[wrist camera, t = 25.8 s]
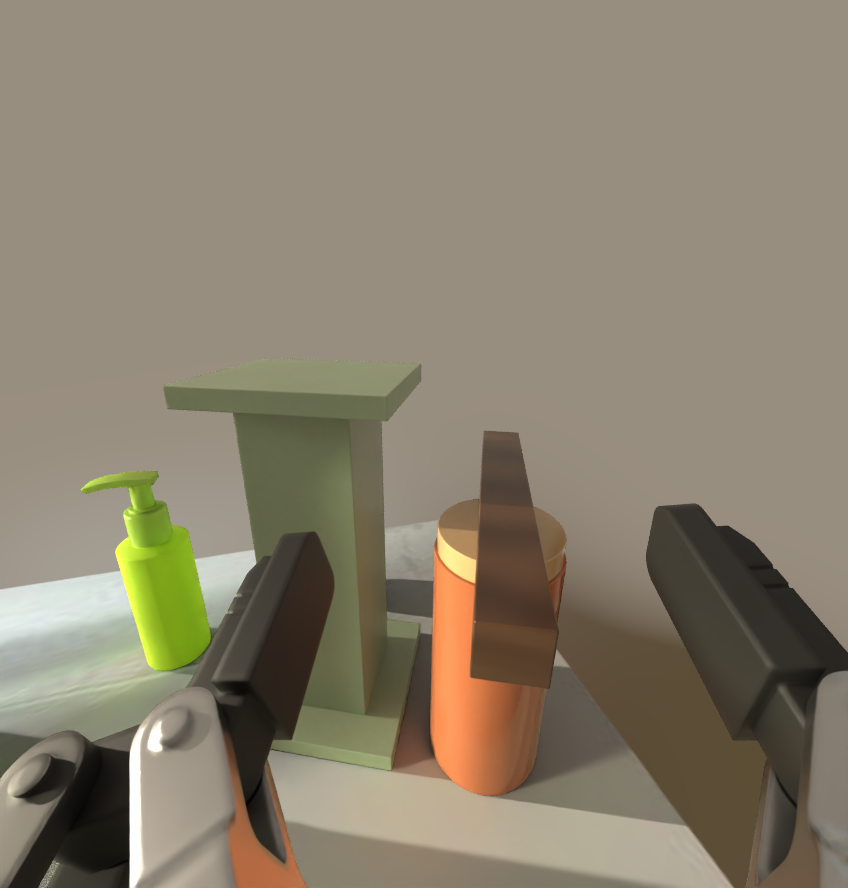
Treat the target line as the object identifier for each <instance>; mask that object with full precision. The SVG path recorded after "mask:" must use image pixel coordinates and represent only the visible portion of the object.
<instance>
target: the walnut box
mask: <svg viewBox="0 0 848 888" xmlns="http://www.w3.org/2000/svg"><path fill="white" fill-rule="evenodd" d="M558 633H559V631H558V626H557V621H556V616H555V611H554V606H553V601H552V596H551V591H550V587H549V582H548V577H547V572H546V567H545V562H544V557H543V552H542V547H541V542H540V537H539V533H538V528H537V523H536V518H535V513H534V508H533V503H532V498H531V493H530V488H529V483H528V479H527V474H526V469H525V464H524V459H523V454H522V449H521V445H520V439H519V435H518V433H513V432H496V431H484V433H483V449H482V464H481V482H480V500H479V517H478V535H477V553H476V571H475V588H474V606H473V624H472V642H471V659H470V677H471V678H474V679H481V680H488V681H495V682H502V683H509V684H516V685H522V686H529V687H536V688H543V689H549V688H550V683H551V677H552V671H553V665H554V658H555V652H556V646H557V640H558Z"/></svg>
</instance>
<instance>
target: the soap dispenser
mask: <svg viewBox="0 0 848 888" xmlns="http://www.w3.org/2000/svg"><path fill="white" fill-rule="evenodd" d="M158 477H159V476H158V472H157V471H142V472H125V473H118V474H112V475H108V476H104V477H101V478H97V479H94V480H92V481H89V482H88V483H87V484H86V485H85V486H84V487H83V488H82V489H81V491H82V492H84V493H86V494H87V493H91V492H95V491H98V490H103V489H108V488H118V487H128V490H129V494H130V498H131V502H132V506H130V507H129V508H128V509H126V510H125V511H124V513H123V517H124V521H125V524H126V527H127V531H128V535H129V537H128V538H127V539H125V540H124V541H123V542H122V543H120V544H119V545H118V547H117V549H116V556H117V560H118V563H119V567H120V570H121V574H122V577H123V580H124V584H125V587H126V590H127V594H128V597H129V601H130V604H131V607H132V611H133V614H134V617H135V621H136V624H137V628H138V631H139V634H140V638H141V641H142V645H143V648H144V651H145V655H146V658H147V661H148V664H149V665H150V666H151V667H152V668H154V669H156V670H162V671H166V670H173V669H177V668H180V667H183V666H185V665H187V664H189V663H191V662H192V661H194V660H195V659H197V658H198V657H199V656H200V655H201V654H202V653H203V652H204V651H205V650H206V649H207V647H208V646H209V644H210V641H211V633H210V628H209V623H208V619H207V614H206V610H205V605H204V601H203V596H202V591H201V587H200V582H199V578H198V573H197V568H196V564H195V559H194V555H193V550H192V545H191V541H190V536H189V532H188V530H187V529H186V528H183V527H181V526H175V525H171V521H170V517H169V512H168V508H167V505H166V503H165V502H163V501H159V500H154V496H153V492H152V488H151V485H153V484H154V483H155V481H156V480H157V478H158Z"/></svg>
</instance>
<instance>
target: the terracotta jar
mask: <svg viewBox="0 0 848 888" xmlns="http://www.w3.org/2000/svg"><path fill="white" fill-rule="evenodd" d="M479 500H480V499H473V500H467V501H464V502H461V503H458V504H456V505H453V506H452V507H450V508H448V509H447V510H446V511H445V512H444V513H443V514H442V515H441V517H440V519H439V521H438V529H437V538H436V540H435V544H434V577H433V620H432V664H431V707H430V741H431V746H432V750H433V753H434V756H435V758H436V760H437V762H438V764H439V765H440V767H441V768H442V770H443V771H444V772H445V774H446V775H447V776H448V777H449V778H450V779H451V780H452V781H454V782H455V783H456V784H457V785H459V786H461V787H462V788H464V789H466V790H468V791H470V792H473V793H476V794H481V795H492V796H494V795H501V794H505V793H508V792H510V791H512V790H514V789H516V788H517V787H519V786H520V785H521V784H522V783H523V782H524V781H525V780H526V779H527V778H528V776H529V775H530V773H531V771H532V769H533V767H534V763H535V760H536V754H537V747H538V741H539V735H540V728H541V722H542V716H543V709H544V703H545V697H546V690H547V689H543V688H536V687H529V686H522V685H516V684H509V683H502V682H495V681H488V680H481V679H474V678H471V677H470V659H471V642H472V624H473V606H474V588H475V571H476V553H477V535H478V517H479ZM533 508H534V513H535V518H536V523H537V528H538V533H539V537H540V542H541V547H542V552H543V557H544V562H545V567H546V572H547V577H548V582H549V587H550V591H551V596H552V601H553V606H554V611H555V616H556V621H558V614H559V608H560V602H561V595H562V589H563V583H564V576H565V570H566V563H567V562H566V556H565V549H566V542H567V538H566V534H565V531H564V529H563V527H562V526H561V525H560V523H559V522H558V521H557V520H556V519H555V518H553V517H552V516H551V515H549V514H548V513H546V512H544V511H542V510H540V509H538V508H536V507H534V506H533Z"/></svg>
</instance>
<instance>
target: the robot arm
mask: <svg viewBox="0 0 848 888" xmlns="http://www.w3.org/2000/svg"><path fill="white" fill-rule="evenodd" d="M646 561H647V568H648V572H649V575H650V577H651V580H652V582H653V584H654V586H655V588H656V590H657V592H658V594H659V596H660V598H661V600H662V602H663V604H664V606H665V608H666V610H667V612H668V614H669V616H670V618H671V620H672V621H673V624H674V626H675V628H676V629H677V631H678V633H679V635H680V637H681V639H682V641H683V643H684V645H685V647H686V649H687V651H688V653H689V655H690V657H691V659H692V661H693V663H694V665H695V667H696V669H697V671H698V673H699V674H700V677H701V678H702V680H703V682H704V684H705V686H706V688H707V690H708V692H709V694H710V696H711V698H712V700H713V702H714V704H715V706H716V708H717V710H718V712H719V714H720V716H721V718H722V720H723V722H724V723H725V725H726V727H727V729H728V731H729V733H730V735H731V737H732V739H733V740H758V742H759V744H760V746H761V747H762V749H763V751H764V753H765V755H766V756H767V758H768V759H767V761H766V763H765V767H764V774H763V780H762V787H761V794H760V801H759V808H758V815H757V821H756V828H755V835H754V842H753V850H752V856H751V863H750V870H749V875H748V880H747V885H746V888H848V652H847V651H846V650H845V649H844V648H843V647H842V645H841V644H839V642H838V641H837V640H836V638H835V637H834V636H833V635H832V634H831V632H830V631H829V630H828V629H827V628H826V627H825V625H823V623H822V622H821V621H820V620H819V618H818V617H817V616H816V615H815V614H814V613H813V611H811V609H810V608H809V607H808V606H807V604H806V603H805V602H804V601H803V600H802V599H801V597H800V596H799V595H798V594H797V593H796V591H795V590H794V589H793V588H789V586H788V582H787V581H786V580H785V579H784V577H783V576H782V575H781V574H780V573H779V572H778V570H777V569H774V568H773V565H772V563H771V562H770V561H769V560H768V559H767V557H766V556H765V555H764V554H763V553H762V552H761V551H760V549H759V548H758V547H757V546H756V545H755V544H754V543H753V542H752V541H750V540H749V539H747V538H746V537H744V536H743V535H741V534H740V533H738V532H737V531H735V530H734V529H732V528H731V527H729V526H716V525H715V524H714V523H713V521H712V520H711V519H710V517H709V516H708V515H707V514H706V512H705V511H704V510H703V509H702V508H701V507H700V506H699V505H697V504H682V505H668V506H658V507H657V508H656V509H655V512H654V516H653V521H652V526H651V531H650V536H649V541H648V547H647V552H646ZM334 587H335V581H334V574H333V570H332V568H331V565H330V563H329V560H328V558H327V556H326V553H325V551H324V548H323V546H322V543H321V541H320V538H319V536H318V534H317V533H316V532H314V531H312V532H298V533H286V534H284V535H282V536H281V538H280V539H279V541H278V544H277V546H276V548H275V550H274V552H273V554H272V556H264V557H263V558H262V559H261V560H260V561H259V562H258V563H257V564H256V565H255V566H254V567H253V568H252V569H251V570H250V571H249V572H248V573H247V575H246V577H245V579H244V581H243V583H242V585H241V586H240V588H239V590H238V592H237V597H235V598H234V600H233V602H232V604H231V605H230V607H229V609H228V614H226V615H225V617H224V619H223V621H222V622H221V624H220V626H219V628H218V630H217V632H216V634H215V636H214V638H213V640H212V641H211V643H210V645H209V647H208V649H207V651H206V653H205V655H204V657H203V659H202V660H201V662H200V664H199V666H198V668H197V670H196V672H195V674H194V676H193V677H192V679H191V681H190V683H189V684H188V686H187V687H186V688H185V689H182V690H180V691H177V692H176V693H174V694H172V695H170V696H169V697H167V698H166V699H164V700H163V701H162V702H161V703H160V704H158V705H157V706H156V707H155V708H154V709H153V710H152V711H151V712H150V714H149V715H148V716H147V717H146V718H145V720H144V721H143V723H142V724H140V725H137V726H134V727H132V728H129V729H126V730H124V731H121V732H118V733H116V734H113V735H110V736H107V737H105V738H102V739H99V740H97V741H94V742H90V741H89V740H88V739H86V738H85V737H84V736H82V735H81V734H80V733H79V732H76V731H63V732H59V733H56V734H53V735H51V736H49V737H47V738H45V739H44V740H42V741H40V742H39V743H37V744H36V745H34V746H33V747H32V748H30V749H29V750H28V751H26V752H25V753H24V754H23V755H22V756H21V757H20V758H19V759H18V760H16V761H15V762H14V763H13V764H12V766H11V767H10V768H9V769H8V770H7V771H6V772H5V774H4V775H3V776H2V777H1V779H0V888H38V887H39V885H40V883H41V881H42V879H43V878H44V876H45V874H46V872H47V870H48V868H49V867H50V865H51V863H52V861H53V860H54V861H56V862H58V863H60V864H59V866H58V868H57V870H56V872H55V874H54V875H53V877H52V879H51V881H50V883H49V885H48V886H47V888H308V887H307V885H306V883H305V881H304V879H303V877H302V875H301V873H300V871H299V868H298V866H297V863H296V860H295V857H294V853H293V849H292V846H291V842H290V838H289V835H288V831H287V827H286V824H285V820H284V816H283V813H282V809H281V805H280V802H279V798H278V794H277V791H276V787H275V784H274V780H273V776H272V773H271V769H270V765H269V763H268V760H267V757H268V754H269V751H270V748H271V745H272V742H273V740H292V738H293V735H294V731H295V728H296V724H297V721H298V717H299V714H300V710H301V707H302V703H303V700H304V696H305V693H306V689H307V686H308V683H309V679H310V676H311V672H312V669H313V665H314V662H315V658H316V655H317V651H318V648H319V644H320V641H321V637H322V634H323V630H324V627H325V623H326V620H327V616H328V613H329V610H330V606H331V603H332V599H333V595H334Z"/></svg>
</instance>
